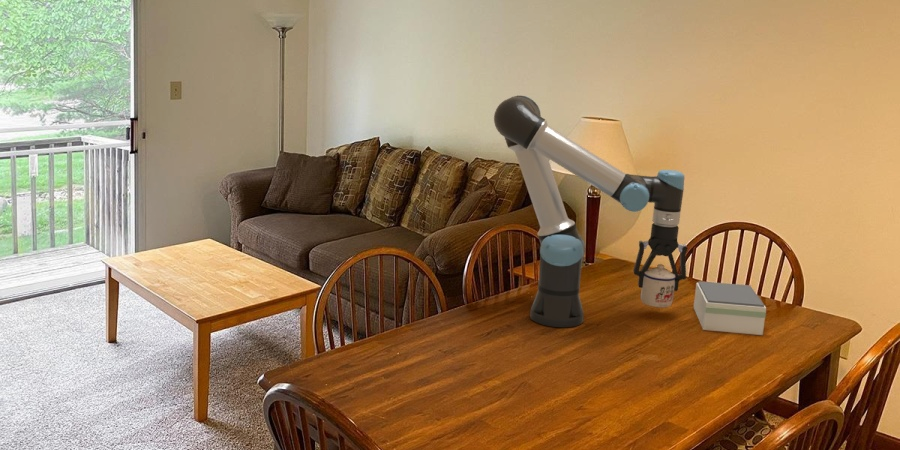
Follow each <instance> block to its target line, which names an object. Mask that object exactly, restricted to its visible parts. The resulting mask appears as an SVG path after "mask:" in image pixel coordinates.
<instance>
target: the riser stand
mask: <svg viewBox="0 0 900 450" xmlns="http://www.w3.org/2000/svg"><path fill="white" fill-rule="evenodd" d="M694 292H695V293H694V301H693V311H694V312H695V315H696V316H697V318H698V321H699V323H700V326H701V328H702V330H703V331H712V332H721V333H722V332H724V333H734V334H744V335H756V336H764V328H765V320H766V315H767V307H766V304H764V303H763V301H762V300H761V298H760V297H759V295H758V294H757V293H756V291H755V289H753V287H752V286H751V285H749V284H736V283H726V282H712V281H701V280H700V281H698V282H696V283H695V291H694Z"/></svg>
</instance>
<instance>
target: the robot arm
mask: <svg viewBox="0 0 900 450" xmlns="http://www.w3.org/2000/svg"><path fill="white" fill-rule="evenodd" d="M493 116H494V117H493V123H494V127H495V129H496V130H497V132H498V133H499V135H501V136H502V137H503V138H504V140H505V143H506V145H507V146H506V147H507V149H510V150H511V151H513V152H514V154H515V156H516V158H517V159H516V160H517V162H518V165H519V169H520V171H521V174H522V177H523V180H524V183H525V186H526V189H527V192H528V194H529V198H530V200H531V204H532V205H533V206H532V207H533V209H534V212H535V215H536V219H537V220H538V225H539V230H538V232H537V237H538V240H539V243H540V247H539V254H540V255H539V272H538V284H537V285H538V287H537V292H536V294H535V298H534V300H533V303H532V304H531V307H530V311H529V314H530V315H529V317H530V319H531V320H532V321H533V322H535V323H537V324H539V325H543V326H547V327H553V328H573V327H577V326H579V325H581V324H583V322H584V316H585V315H584V310H583V305H582V301H581V298H580V286H581V285H580V284H581V275H582V264H583V260H584V257H585V252H586V251H585V248H586V246H585V242H584V239H582V236H581V235H580V234H579V231H578V228H577V225H576V222H575V221H574V220H573V219H570V218H569V217H568V214H567V212H566V209H565V205H564V202H563V199H562V196H561V193H560V190H559V187H558V184H557V181H556V178H555V174H554V173H553V170H552V169H553V168H552V167H551V163H550V161H552V162H554V163H555V164H557V165H558V166H560V167H562V168H563V169H564V170H566V171H569V172H570V173H572V174H573V175H575V176H576V177H578V178H580V179H582V180H583V181H585V182H586V183H587V184H589V185H591V186H593V187H594V188H596V189H597V190H599V191H601V192H602V193H603V194H606V195H607V196H609V197H610V198H612V199H613V200H615V201H616V202H617V203H620V205H622V207H623V208H624V209H626V210H627V211H628V212H634V213H635V212H640V211H642V210H643V209H644V208H646V207H647V205H648V203H654V204H653V213H652V222H653V223H652V224H651V230H650V237H649V239H648V240H646V241H642V240H639V241H638V252H637V256H636V259H635V262H634V267H633V275H634V276H638V284H637V285H638V288H641V289H640V290H641V292H640V300H641V299H642V292H643V284H644V274H645V272H646V271H647V270H648V269H650V267H651V265H652V264H653V261H654V259H655V258H656V257H659V256H660V257H661V256H663V257H667V258H668V261H669V264H670V267H671V272H672V273H673V274H674V275H675V277H676V279H675V280H674V288H673V296H672V303H673V301H674V292H677V291H678V290H679V283H680V281H681V280H686V279H687V271H686V270H687V268H686V266H687V264H686V263H687V262H686V259H687V258H686V254H687V252H688V247H687V245H686V244H680V243H679V242H678V236H679V228H680V227H679V226H678V225H680V221H681V220H680V219H681V212H682V211H681V210H682V204H683V197H684V191H685V188H684V187H685V174H684V173H683V172H682V171H679V170H672V169H661V170H659V171H658V173H657V174H656V175H655V176H647V175H641V174H640V175H639V174H630V173H625V172H623V171H622V170H620V169H619V168H617V167H616V166H614V165H613V164H611V163H609V162H608V161H605V160H604V159H602V158H601V157H599V156H598V155H596V154H595V153H593V152H591V151H590V150H588V149H586V148H585V147H583V146H582V145H581V144H578V143H577V142H575V141H573V140H572V139H570V138H568V137H567V136H566V135H564V134H562V133H561V132H558V131H557V130H556V129H554V128H552V127H551V126H549V125H548V121H547V119H545V118H543V117H542V116H541V110H540V107H539V105H538V104H537V103H536V102H535V101H534V100H533V99H532V98H530V97H528V96H526V95H514V96H511V97H509V98H507V99H505V100H503V101H502V102H501V103H499V104H498V106H497V107H496V109H495V111H494V114H493ZM648 246H649V248H650V250H651V251H650V252H649V256H648V258H647V259H646V260H645V262H644V263H643V266H642V268H641V269H640V267H641V264H642V260H643V256H644V253H645V249H647V247H648ZM677 249H678V252H679V258H680V259H679V263H680V266H679V267H680V274H679V273H678V270H677V267H676V261H675V260H674V255H673V252H675V251H676V250H677Z"/></svg>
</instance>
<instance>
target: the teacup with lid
mask: <svg viewBox="0 0 900 450" xmlns="http://www.w3.org/2000/svg"><path fill="white" fill-rule="evenodd" d="M675 279H676V277H675V275H674V274H673V271H670V270H668V269H667V268H665V265H664V264H661V263H660V264H659V263H658V264H657V266H655V267H652V268H648V270H647V271H646V272H645V274H644V284H643V292H642V299H641V298H640V300H641V302H642V303H643V304H644V305H647V306H650V307H653V308H668V307H671V305H672V303H673V302H672V296H673V297H674V294H673V288H674V280H675Z"/></svg>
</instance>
